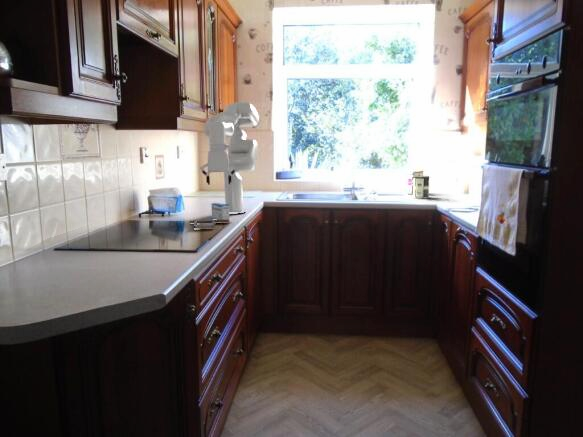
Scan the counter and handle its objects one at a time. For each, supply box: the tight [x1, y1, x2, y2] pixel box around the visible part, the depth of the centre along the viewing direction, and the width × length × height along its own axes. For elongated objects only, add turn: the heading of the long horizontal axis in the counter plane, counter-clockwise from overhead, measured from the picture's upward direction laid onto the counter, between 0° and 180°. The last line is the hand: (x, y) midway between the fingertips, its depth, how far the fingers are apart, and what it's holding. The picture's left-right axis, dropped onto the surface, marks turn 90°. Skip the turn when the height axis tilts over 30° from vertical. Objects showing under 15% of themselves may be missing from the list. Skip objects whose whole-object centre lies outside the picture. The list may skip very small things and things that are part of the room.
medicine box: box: [211, 202, 230, 220], centre depth 216 cm, size 8×4×9 cm, turn 52°
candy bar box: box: [406, 169, 424, 195], centre depth 317 cm, size 11×5×16 cm, turn 126°
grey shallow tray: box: [192, 219, 216, 229], centre depth 201 cm, size 13×9×2 cm
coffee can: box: [412, 175, 430, 199], centre depth 296 cm, size 10×10×14 cm
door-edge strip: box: [189, 218, 230, 224], centre depth 209 cm, size 1×18×2 cm, turn 98°
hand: (219, 184), depth 214 cm, fingers open, 9 cm apart
